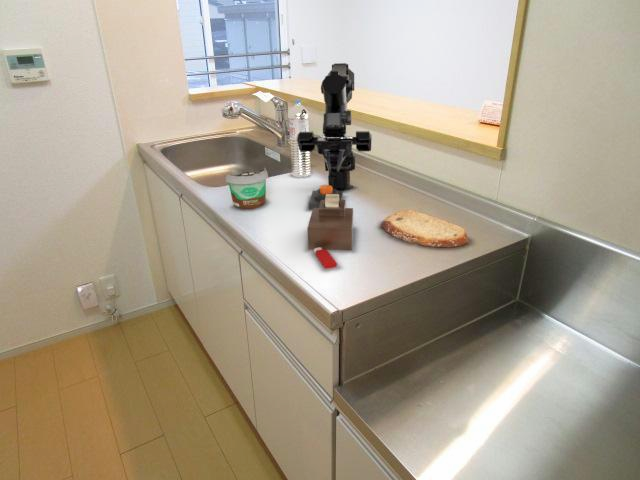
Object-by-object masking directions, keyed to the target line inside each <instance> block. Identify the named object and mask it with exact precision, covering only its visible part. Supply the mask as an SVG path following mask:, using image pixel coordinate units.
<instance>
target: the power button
mask: <svg viewBox="0 0 640 480" xmlns="http://www.w3.org/2000/svg"><path fill="white" fill-rule="evenodd" d="M319 189H320V194H331V193H332V186H330V185H328V184H323V185H320V186H319Z"/></svg>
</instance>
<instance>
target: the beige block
mask: <svg viewBox="0 0 640 480" xmlns="http://www.w3.org/2000/svg"><path fill="white" fill-rule="evenodd" d="M325 207H339V194H326V197H325Z"/></svg>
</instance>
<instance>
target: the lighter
mask: <svg viewBox="0 0 640 480" xmlns="http://www.w3.org/2000/svg"><path fill="white" fill-rule="evenodd" d="M313 253H314V255H315V256H316V257H317V259H318V260H319V262H320V263H321V265H322V266H323V268H324V269H332V268H337V266H338V264H337V262H336V260H335V259H334V257H332V255H331V254H330V252H329V250H326V249H325V248H320V247H319V248H315V249H314V250H313Z"/></svg>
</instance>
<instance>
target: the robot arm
mask: <svg viewBox="0 0 640 480" xmlns="http://www.w3.org/2000/svg"><path fill="white" fill-rule="evenodd" d="M320 90H321V94H322V95H323V102H324V104H325V106H324V113H323V123H322V135H319V134H318V135H317V136H315V134H314V131H309V132H300V133H299V134H298V136H297V142H298V146H299V150H300V151H302V152H310V153H311V152H314V150H315V149H316V148H317V153H318V155H322V157H323V158H324V168H325V169H324V171H325V172H328V176H327V178H328V179H327V185H330V186H332V189H336V190H337V191H343V192H345V191H348V190H351V189H354V185H352V184H351V172H354V171H355V170H356V156H355V154H354V153H353V152H354V151H353V145H354V146H355V149H356V150H357V151H358V152H371V151H372V135H373V134H372V132H371V131H370V130H361V131H360V130H357V131H355V136H347V126H351V125H352V110H348V104H349V102H350V101H351V100H352V99H353V92H355V72H353V71H352V69H350V68H349V63H347V62H344V63H343V62H342V63H341V62H339V63H337V62H336V63H333V64H331V70H330V71H329V72H328V74H327V75H325V76H324V78H323V80H322V81H321V84H320Z"/></svg>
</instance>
